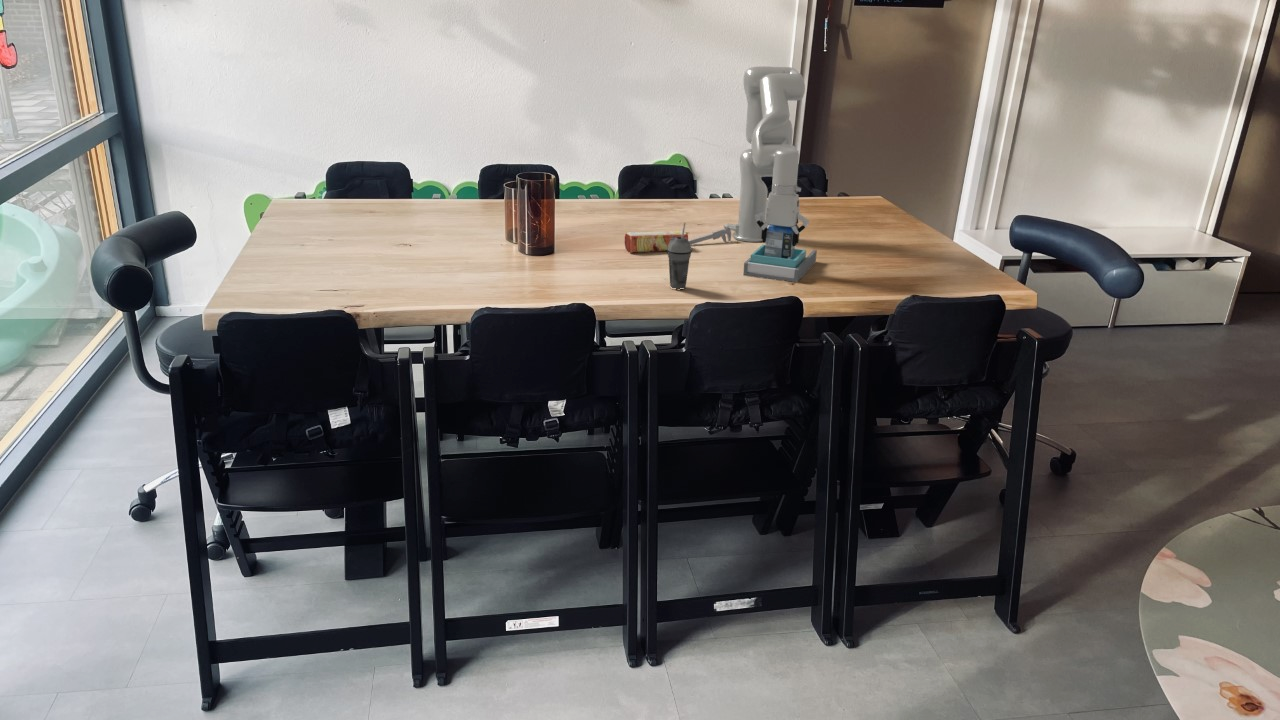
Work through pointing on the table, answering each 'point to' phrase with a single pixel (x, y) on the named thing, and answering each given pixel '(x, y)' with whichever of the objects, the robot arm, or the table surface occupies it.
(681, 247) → the beverage cup
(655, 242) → the snack package
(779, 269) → the bay
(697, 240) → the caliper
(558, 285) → the table surface
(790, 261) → the teal square tray
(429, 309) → the table surface
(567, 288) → the table surface
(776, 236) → the label tape box
